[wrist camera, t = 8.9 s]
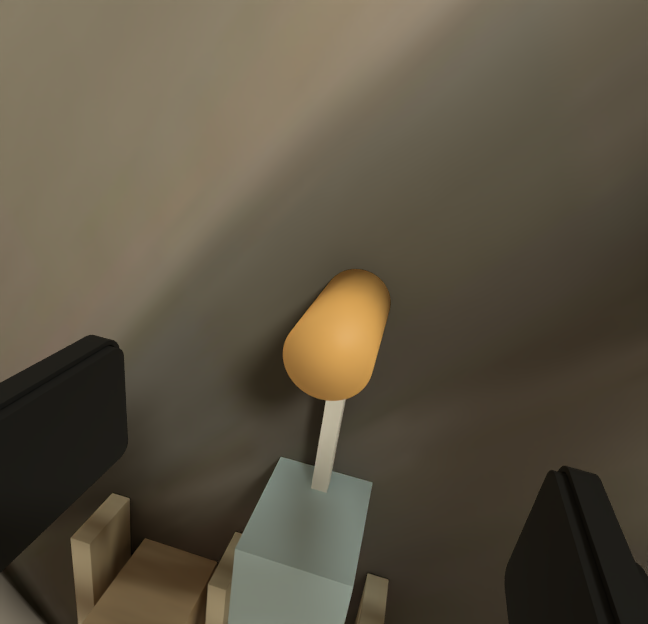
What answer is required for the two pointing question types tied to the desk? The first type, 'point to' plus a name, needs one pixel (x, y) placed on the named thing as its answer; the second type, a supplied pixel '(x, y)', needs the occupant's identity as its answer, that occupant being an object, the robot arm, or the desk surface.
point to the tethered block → (314, 471)
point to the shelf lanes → (115, 550)
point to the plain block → (157, 588)
